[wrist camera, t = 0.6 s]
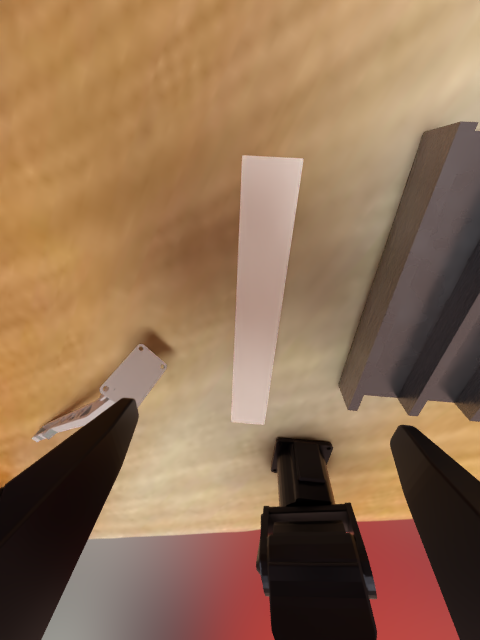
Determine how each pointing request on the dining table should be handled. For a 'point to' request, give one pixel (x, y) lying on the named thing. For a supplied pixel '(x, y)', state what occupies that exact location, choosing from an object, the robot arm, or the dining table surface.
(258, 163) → the panel
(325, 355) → the dining table surface
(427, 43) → the dining table surface
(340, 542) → the robot arm
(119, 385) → the bracket
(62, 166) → the dining table surface
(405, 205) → the rack
